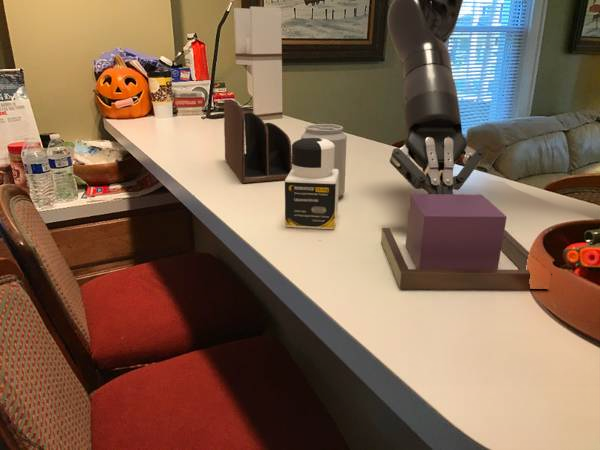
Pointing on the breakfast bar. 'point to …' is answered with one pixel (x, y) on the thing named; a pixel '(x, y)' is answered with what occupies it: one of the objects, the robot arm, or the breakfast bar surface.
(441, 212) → the block
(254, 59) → the white stepped pillar
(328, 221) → the medicine bottle
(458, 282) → the bay
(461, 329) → the breakfast bar surface
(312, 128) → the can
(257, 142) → the letter holder
